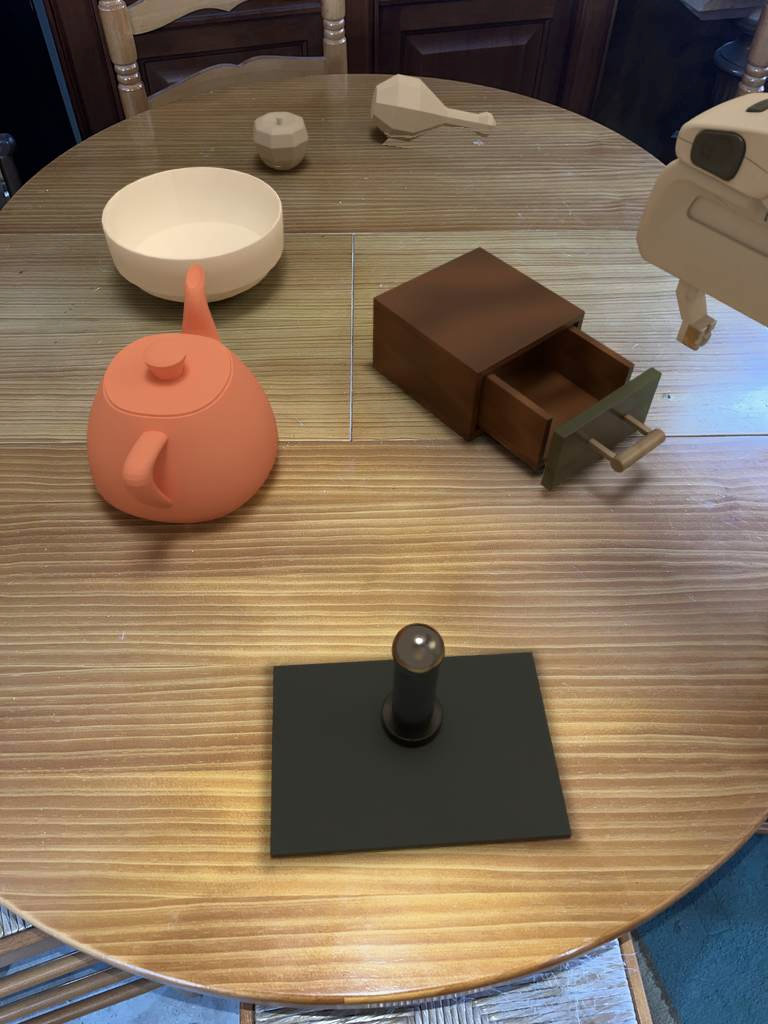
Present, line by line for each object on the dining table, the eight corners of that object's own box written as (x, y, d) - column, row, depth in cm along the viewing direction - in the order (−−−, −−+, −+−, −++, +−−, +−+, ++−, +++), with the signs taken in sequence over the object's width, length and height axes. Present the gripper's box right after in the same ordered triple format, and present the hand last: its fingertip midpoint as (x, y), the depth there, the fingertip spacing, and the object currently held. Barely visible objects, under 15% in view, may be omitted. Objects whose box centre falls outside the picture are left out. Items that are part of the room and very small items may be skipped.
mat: (531, 655, 64) (532, 651, 63) (570, 837, 55) (572, 834, 54) (274, 669, 63) (273, 665, 62) (270, 858, 54) (270, 855, 53)
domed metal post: (454, 723, 59) (469, 639, 51) (408, 760, 57) (416, 680, 49) (413, 681, 61) (422, 594, 53) (368, 716, 60) (369, 631, 51)
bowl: (140, 345, 88) (123, 277, 81) (103, 251, 99) (85, 185, 93) (311, 303, 93) (308, 236, 87) (257, 219, 105) (250, 154, 98)
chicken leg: (494, 158, 118) (507, 94, 115) (373, 135, 115) (383, 68, 111) (479, 155, 126) (491, 95, 122) (365, 133, 122) (374, 71, 118)
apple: (317, 155, 116) (315, 108, 111) (301, 181, 111) (298, 133, 106) (264, 148, 117) (259, 101, 112) (246, 174, 112) (240, 126, 107)
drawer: (678, 451, 77) (700, 397, 72) (585, 519, 72) (602, 466, 67) (540, 358, 86) (552, 304, 81) (448, 412, 80) (454, 358, 75)
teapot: (139, 368, 85) (108, 253, 75) (298, 377, 85) (289, 263, 75) (62, 557, 69) (9, 445, 59) (258, 570, 69) (240, 459, 58)
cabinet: (568, 380, 85) (585, 311, 79) (468, 442, 79) (477, 373, 72) (471, 314, 92) (479, 246, 86) (372, 366, 86) (373, 297, 80)
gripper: (1096, 236, 38) (934, 446, 48) (721, 85, 48) (654, 288, 58) (1042, 286, 35) (883, 497, 46) (656, 115, 45) (598, 322, 55)
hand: (752, 378), depth 52 cm, fingers open, 8 cm apart
